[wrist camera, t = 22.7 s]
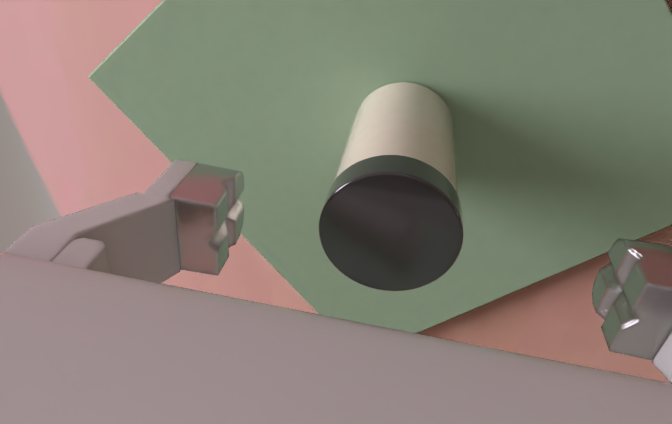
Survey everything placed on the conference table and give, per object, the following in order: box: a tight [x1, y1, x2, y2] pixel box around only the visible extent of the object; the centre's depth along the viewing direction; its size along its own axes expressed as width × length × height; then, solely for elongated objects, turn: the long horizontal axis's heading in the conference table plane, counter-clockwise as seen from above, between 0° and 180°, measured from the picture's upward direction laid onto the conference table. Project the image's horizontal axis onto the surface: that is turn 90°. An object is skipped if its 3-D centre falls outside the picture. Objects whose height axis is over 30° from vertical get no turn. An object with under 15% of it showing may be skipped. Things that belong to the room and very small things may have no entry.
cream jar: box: [319, 82, 464, 291], centre depth 14 cm, size 3×3×6 cm
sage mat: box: [89, 0, 672, 333], centre depth 17 cm, size 15×15×1 cm
